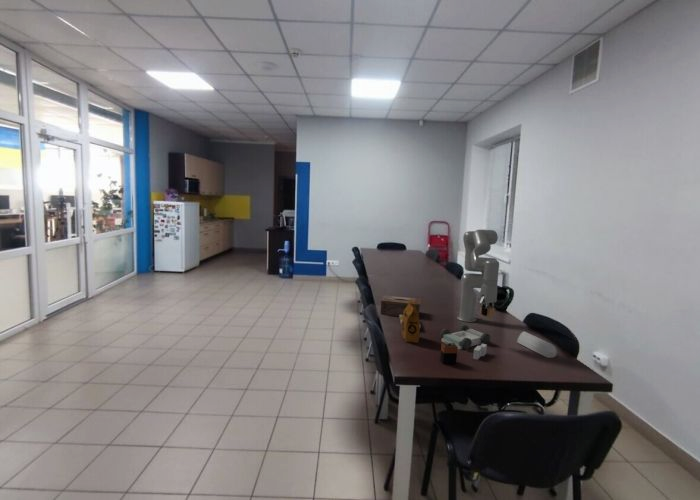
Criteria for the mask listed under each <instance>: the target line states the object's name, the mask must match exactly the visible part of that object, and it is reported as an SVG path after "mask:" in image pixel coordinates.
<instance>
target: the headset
mask: <svg viewBox="0 0 700 500" xmlns="http://www.w3.org/2000/svg"><path fill="white" fill-rule="evenodd" d="M507 291H508V292H507ZM507 294H508V295H507ZM514 297H515V291H514V289H513V288H512V287H510V286H508V285H504V286H501V287H500V286H499V287H498V286H497V301H496V302H495V304H494V307H493V308H495V310H498V311H503V310H505V309H506V308H508V307H509V306H510V305H511V304H512V302H513V300H514ZM506 298H507V299H506ZM478 300H479V297H478ZM503 300H505V301H504V302H503ZM484 302H485V301H484Z"/></svg>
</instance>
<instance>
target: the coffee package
mask: <svg viewBox="0 0 700 500" xmlns="http://www.w3.org/2000/svg"><path fill="white" fill-rule="evenodd" d="M408 302H409V304H408V305H407V307H406V308H405V310H404V312H403V320H402V328H401V336H402V338H403V339H404V340H405V342H406V343H415V344H417V343H419V340H420V330H421V328H420V325H421V322H420V315H419V316H418V313H417V310H416V307H415V302H414V301H413V300H411V299H409V300H408Z"/></svg>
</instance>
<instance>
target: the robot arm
mask: <svg viewBox="0 0 700 500" xmlns="http://www.w3.org/2000/svg"><path fill="white" fill-rule="evenodd" d="M498 237H499V236H498V233H497V231H496V230H494V229H493V230H492V229H477V230H473V231H471V230H470V231H465V232H464V234H463V246H464V248H465V249H464V251H465V255H464V269H465V270H466V271H467V272H468V273H467V272H466V273H463V274H462V275H461V280H460V281H461V282H460V283H461V294H460V306H459V315H457V316H456V319H457V320H459V321H461V322H467V323H474V322H475V323H476V321H477V316H479V312H475V311H476V302H477V301H476V300H477V294H476V292H475V289H480V290H479V291H480V292H479V297H478V298H479V299H478V301H479V303H478V304H479V305H480V308H482V311H481V314H482V315H485V316H487V305H490V307H494V304H495V302H496V301H497V288H498V281H499V280H498V279H499V273H500V271H499V269H500V262H499V260H498V259H496V258H495V257H494V258H493V257H482V255H485V254H487V253H489V252H490V251H491V247H492V246H491V245H495V244H496V243H497V242H498ZM480 256H481V257H480ZM469 272H470V273H469ZM472 272H473V273H472ZM474 272H477V273H474ZM484 301H485V302H484ZM482 315H481V316H482ZM485 316H484V317H485Z"/></svg>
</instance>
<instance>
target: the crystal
mask: <svg viewBox="0 0 700 500" xmlns="http://www.w3.org/2000/svg"><path fill="white" fill-rule="evenodd" d="M516 342H517V343H518V344H520V345H522V346H523V347H526V348H527V349H528V350H532V351H533V352H534V353H535V352H536V353H537V354H539V355H541V356H543V357H545V358H549V359H550V358H555V357H556V356H557V354H558V350H557V347H556V346H555V345H553V344H552V343H550V342H548V341H546V340H544V339H542V338H540V337H537V336H535V335H534V334H530V333H528V332H526V331H522V332H521V333H520V334H519V336H518V337H517V341H516Z"/></svg>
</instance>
